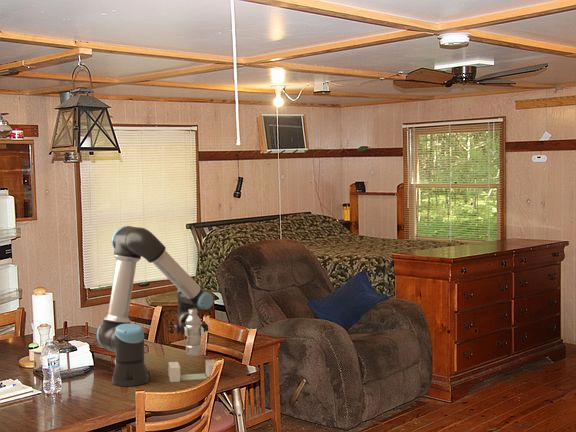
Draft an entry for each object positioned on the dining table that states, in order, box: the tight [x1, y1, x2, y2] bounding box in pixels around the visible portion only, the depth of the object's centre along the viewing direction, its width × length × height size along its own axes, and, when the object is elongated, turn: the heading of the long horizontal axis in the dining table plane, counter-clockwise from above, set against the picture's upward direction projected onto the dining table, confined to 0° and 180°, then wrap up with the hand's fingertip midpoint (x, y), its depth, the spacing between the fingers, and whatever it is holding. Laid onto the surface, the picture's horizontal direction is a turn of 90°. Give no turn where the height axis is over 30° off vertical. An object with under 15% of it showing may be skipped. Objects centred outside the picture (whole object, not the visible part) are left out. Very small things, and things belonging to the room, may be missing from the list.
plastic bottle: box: [185, 307, 202, 357], centre depth 328 cm, size 6×7×20 cm
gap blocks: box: [167, 358, 216, 383], centre depth 329 cm, size 10×20×6 cm, turn 104°
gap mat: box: [180, 372, 208, 382], centre depth 329 cm, size 8×11×1 cm
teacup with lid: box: [32, 343, 45, 370], centre depth 341 cm, size 12×9×12 cm
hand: (194, 332), depth 323 cm, fingers closed on plastic bottle, 6 cm apart
